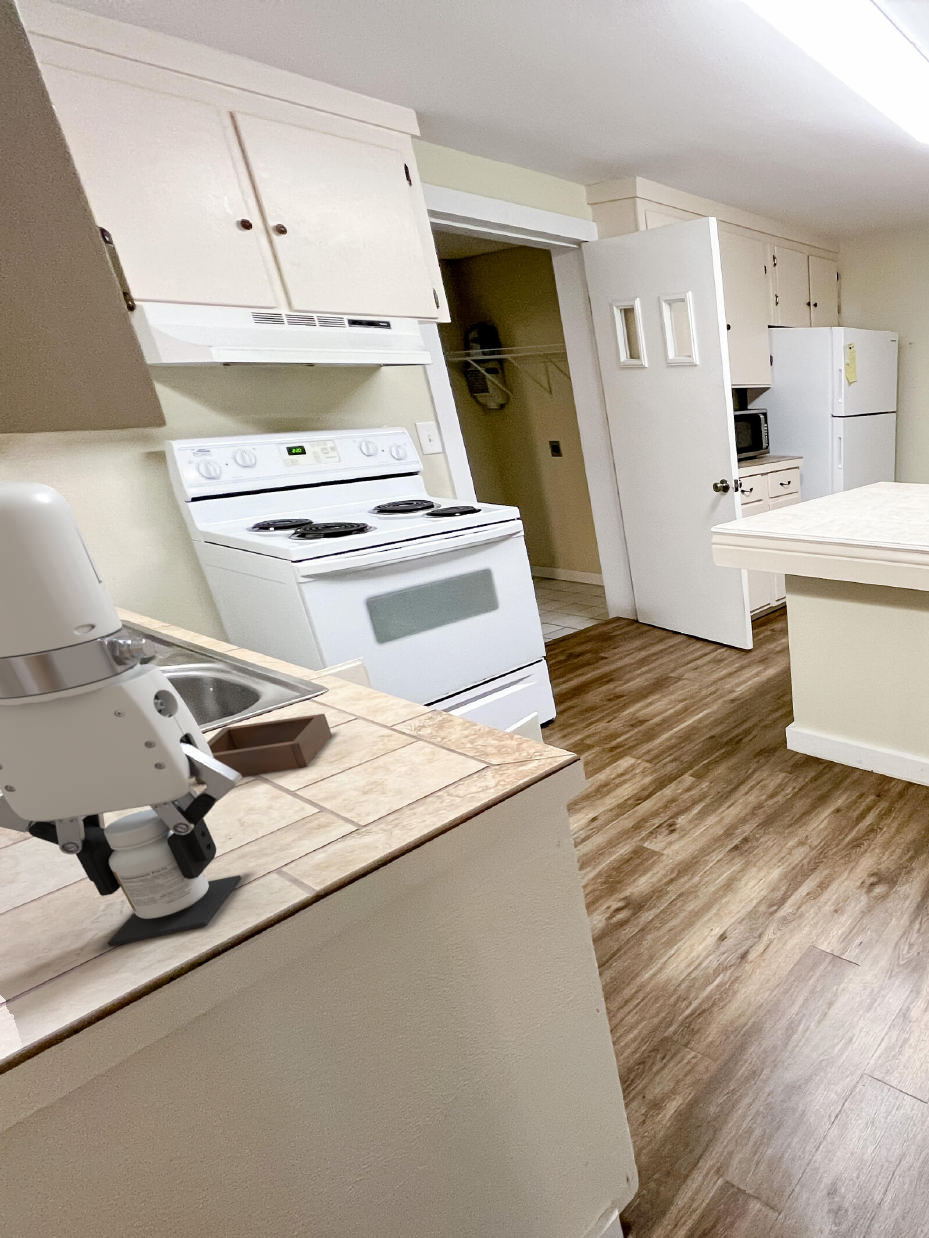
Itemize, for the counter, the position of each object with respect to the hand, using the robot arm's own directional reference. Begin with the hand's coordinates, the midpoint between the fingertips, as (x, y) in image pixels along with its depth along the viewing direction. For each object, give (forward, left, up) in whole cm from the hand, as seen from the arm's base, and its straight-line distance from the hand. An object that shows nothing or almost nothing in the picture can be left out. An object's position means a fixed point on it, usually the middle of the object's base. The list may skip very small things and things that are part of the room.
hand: (160, 873), depth 54 cm
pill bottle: (0, 0, -3) cm, 3 cm away
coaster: (0, 0, -4) cm, 4 cm away
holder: (-4, +28, -4) cm, 29 cm away
